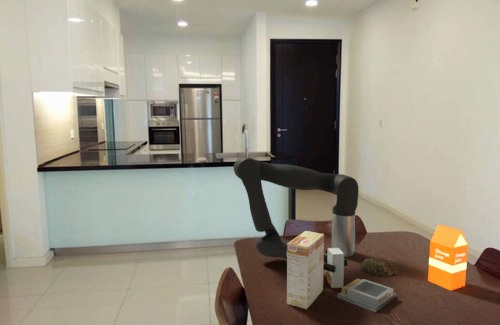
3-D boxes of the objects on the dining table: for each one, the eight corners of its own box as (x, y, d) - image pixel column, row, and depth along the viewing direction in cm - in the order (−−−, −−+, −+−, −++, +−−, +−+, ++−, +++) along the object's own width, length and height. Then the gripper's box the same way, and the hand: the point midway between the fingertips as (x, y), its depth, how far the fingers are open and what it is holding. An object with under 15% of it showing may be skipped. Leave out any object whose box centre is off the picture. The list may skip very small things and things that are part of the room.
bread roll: (355, 270, 143) (356, 258, 142) (370, 261, 152) (370, 249, 151) (388, 280, 134) (389, 267, 134) (402, 270, 143) (403, 257, 143)
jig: (359, 284, 131) (359, 275, 131) (396, 296, 122) (396, 287, 121) (337, 297, 121) (337, 288, 121) (375, 312, 112) (376, 302, 112)
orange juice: (450, 290, 126) (454, 232, 124) (427, 280, 134) (430, 225, 131) (465, 285, 130) (469, 229, 127) (442, 276, 137) (445, 222, 135)
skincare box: (326, 280, 134) (327, 247, 132) (338, 280, 134) (339, 247, 133) (331, 288, 128) (332, 254, 126) (343, 287, 128) (344, 253, 127)
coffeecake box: (304, 285, 130) (305, 230, 128) (324, 290, 126) (325, 233, 124) (285, 304, 117) (286, 243, 115) (307, 309, 114) (308, 247, 111)
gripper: (289, 249, 135) (329, 261, 123) (313, 239, 145) (352, 250, 133) (289, 269, 136) (329, 283, 124) (313, 258, 146) (351, 270, 134)
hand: (341, 266), depth 129 cm, fingers closed on skincare box, 7 cm apart
